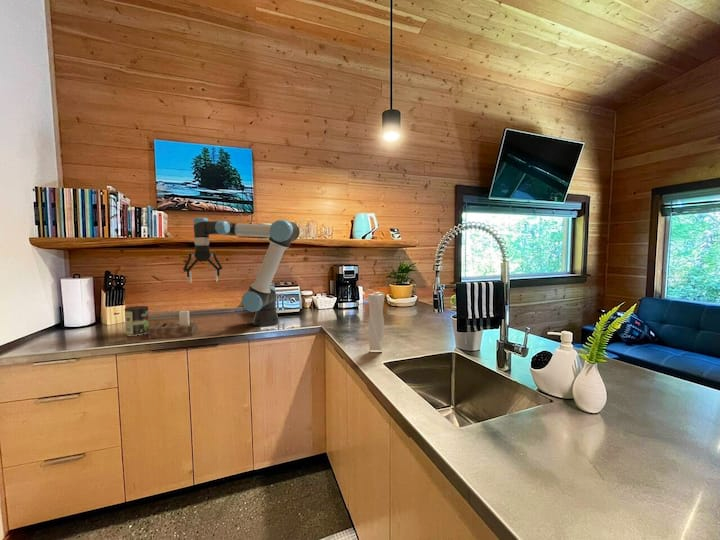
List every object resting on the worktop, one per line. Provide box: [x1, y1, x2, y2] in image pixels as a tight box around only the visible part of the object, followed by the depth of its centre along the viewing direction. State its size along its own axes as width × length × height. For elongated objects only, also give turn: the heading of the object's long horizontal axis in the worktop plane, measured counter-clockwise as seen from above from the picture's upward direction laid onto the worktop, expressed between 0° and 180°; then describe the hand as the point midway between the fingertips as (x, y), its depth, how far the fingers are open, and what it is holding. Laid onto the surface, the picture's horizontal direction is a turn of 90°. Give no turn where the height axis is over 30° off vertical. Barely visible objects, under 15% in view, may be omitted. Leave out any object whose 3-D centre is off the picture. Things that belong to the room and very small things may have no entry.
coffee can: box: [124, 305, 150, 337], centre depth 170 cm, size 10×10×14 cm
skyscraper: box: [366, 288, 386, 351], centre depth 142 cm, size 8×8×28 cm
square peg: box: [178, 309, 191, 326], centre depth 171 cm, size 4×4×12 cm
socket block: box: [147, 320, 199, 340], centre depth 170 cm, size 20×14×5 cm
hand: (204, 282), depth 184 cm, fingers open, 13 cm apart
